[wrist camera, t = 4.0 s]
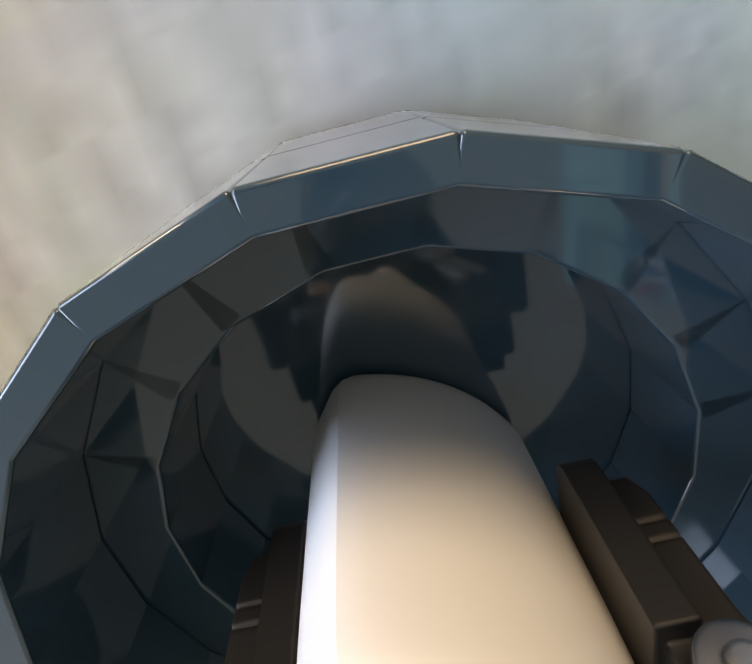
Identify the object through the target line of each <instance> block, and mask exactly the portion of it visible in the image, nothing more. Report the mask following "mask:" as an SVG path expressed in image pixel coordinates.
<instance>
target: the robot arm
mask: <svg viewBox="0 0 752 664" xmlns="http://www.w3.org/2000/svg"><path fill="white" fill-rule="evenodd" d="M556 476H557V487H558V498H559V509H560V515H561V517H562V519H563V521H564V523H565V525H566V527H567V529H568V531H569V533H570V535H571V537H572V539H573V541H574V543H575V545H576V547H577V549H578V550H579V552H580V554H581V556H582V558H583V560H584V562H585V564H586V566H587V568H588V570H589V572H590V574H591V576H592V578H593V580H594V582H595V584H596V586H597V588H598V590H599V592H600V594H601V596H602V598H603V600H604V602H605V604H606V606H607V608H608V610H609V612H610V614H611V616H612V618H613V620H614V622H615V624H616V626H617V628H618V630H619V632H620V634H621V636H622V638H623V640H624V642H625V644H626V647H627V649H628V651H629V653H630V655H631V657H632V659H633V661H634V663H635V664H752V623H751V622H749V621H748V620H747V619H746V618H745V617H744V616H743V615H742V614H741V613H740V611H739V610H738V609H737V608H736V607H735V605H734V604H733V603H732V601H731V600H730V599H729V597H728V596H727V595H726V594H725V592H724V591H723V590H722V588H721V587H720V586H719V584H718V583H717V582H716V580H715V579H714V578H713V576H712V575H711V574H710V572H709V571H708V570H707V568H706V567H705V566H704V565H703V563H702V562H701V561H700V559H699V558H698V557H697V555H696V554H695V553H694V551H693V550H692V549H691V547H690V546H689V545H688V543H687V542H686V541H685V540H684V538H683V537H682V538H681V536H680V534H679V532H678V530H677V529H676V528H675V526H674V525H673V524H672V522H671V521H670V520H669V519H667V518H666V514H665V513H664V512H663V511H662V509H661V508H660V507H659V505H658V504H657V503H656V501H655V500H654V499H653V497H652V496H651V495H650V493H648V492H647V491H645V490H644V489H642V488H641V487H640V486H638V485H637V484H635V483H634V482H632V481H631V480H629V479H628V478H626V477H623V478H618V479H614V480H608V478H607V477H606V475H605V474H604V472H603V471H602V469H601V468H600V467H599V465H598V464H597V462H596V461H595V460H594V459H593V458H587V459H583V460H578V461H574V462H569V463H565V464H560V465H557V467H556ZM306 531H307V520H304V521H299V522H295V523H290V524H286V525H281V526H277V527H275V528H274V530H273V534H272V540H271V546H270V552H269V554H267V555H263V556H258V557H255V558H254V559H253V561H252V563H251V565H250V566H249V568H248V570H247V572H246V573H245V575H244V577H243V578H242V580H241V584H240V589H239V594H238V599H237V604H236V607H237V610H235V613H234V618H233V623H232V632H231V633H230V637H229V642H228V647H227V652H226V657H225V662H224V664H297V652H298V635H299V621H300V608H301V595H302V582H303V570H304V557H305V544H306Z"/></svg>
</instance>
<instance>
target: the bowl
mask: <svg viewBox="0 0 752 664" xmlns="http://www.w3.org/2000/svg"><path fill="white" fill-rule="evenodd" d="M364 374H393V375H405V376H412V377H418V378H424V379H428V380H432V381H436V382H439V383H443V384H446V385H448V386H451V387H454V388H456V389H458V390H461V391H463V392H465V393H467V394H469V395H471V396H473V397H475V398H477V399H478V400H480V401H482V402H483V403H485V404H486V405H488V406H489V407H491V408H492V409H493V410H495V411H496V412H497V413H499V414H500V415H501V416H502V417H503V418H504V419H506V420H507V421H508V422H509V423H510V424H511V425H512V426H513V428H514V429H515V430H516V431H517V432H518V433H519V435H520V437H521V439H522V441H523V443H524V445H525V447H526V448H527V450H528V452H529V454H530V456H531V458H532V460H533V462H534V464H535V466H536V468H537V470H538V472H539V474H540V476H541V478H542V480H543V482H544V484H545V486H546V488H547V490H548V491H549V493H550V495H551V497H552V499H553V501H554V503H555V505H556V507H557V509H558V511H559V513H560V509H559V498H558V487H557V476H556V467H557V465H560V464H565V463H569V462H574V461H578V460H583V459H587V458H593V459H594V460H595V461H596V462H597V464H598V465H599V467H600V468H601V469H602V471H603V472H604V474H605V475H606V477H607V478H608V480H614V479H618V478H623V477H626V478H628V479H629V480H631V481H632V482H634V483H635V484H637V485H638V486H640V487H641V488H642V489H644V490H645V491H647V492H648V493H650V495H651V496H652V497H653V499H654V500H655V501H656V503H657V504H658V505H659V507H660V508H661V509H662V511H663V512H664V513H665V514H666V518H667V519H669V520H670V521H671V522H672V524H673V525H674V526H675V528H676V529H677V530H678V532H679V534H680V536H681V538H682V537H683V538H684V540H685V541H686V542H687V543H688V545H689V546H690V547H691V549H692V550H693V551H694V553H695V554H696V555H697V557H698V558H699V559H700V561H701V562H702V563H703V565H704V566H705V567H706V568H707V570H708V571H709V572H710V574H711V575H712V576H713V578H714V579H715V580H716V582H717V583H718V584H719V586H720V587H721V588H722V590H723V591H724V592H725V594H726V595H727V596H728V597H729V599H730V600H731V601H732V603H733V604H734V605H735V607H736V608H737V609H738V610H739V611H740V613H741V614H742V615H743V616H744V617H745V618H746V619H747V620H748V621H749V622H751V623H752V181H750V180H748V179H746V178H744V177H742V176H740V175H738V174H736V173H734V172H732V171H730V170H728V169H726V168H724V167H723V166H721V165H719V164H717V163H715V162H713V161H711V160H709V159H707V158H705V157H703V156H701V155H699V154H697V153H695V152H694V151H692V150H687V149H681V148H680V147H675V146H669V145H663V144H657V143H651V142H645V141H639V140H633V139H627V138H622V137H616V136H610V135H604V134H598V133H592V132H586V131H580V130H574V129H569V128H563V127H557V126H551V125H545V124H539V123H533V122H528V121H522V120H512V119H500V118H489V117H478V116H466V115H455V114H444V113H432V112H421V111H410V110H406V111H404V112H403V111H397V112H393V113H389V114H386V115H382V116H378V117H374V118H370V119H366V120H363V121H359V122H355V123H351V124H347V125H344V126H340V127H336V128H332V129H328V130H324V131H321V132H317V133H313V134H309V135H305V136H301V137H298V138H294V139H290V140H286V141H285V142H284V143H283V142H282V143H280V144H278V145H277V146H276V147H274V148H273V149H271V150H270V151H268V152H267V153H265V154H264V155H262V156H261V157H259V158H258V159H257V160H255V161H254V162H252V163H251V164H249V165H248V166H246V167H245V168H243V169H242V170H240V171H239V172H238V173H236V174H235V175H233V176H232V177H230V178H229V179H227V180H226V181H224V182H223V183H222V184H220V185H219V186H217V187H216V188H214V189H213V190H211V191H210V192H208V193H207V194H205V195H204V196H203V197H201V198H200V199H198V200H197V201H195V202H194V203H192V204H191V205H189V206H188V207H187V208H185V209H184V210H183V211H181V212H180V213H179V214H177V215H176V216H175V217H173V218H172V219H171V220H169V221H168V222H167V223H165V224H164V225H163V226H161V227H160V228H159V229H157V230H156V231H155V232H153V233H152V234H151V235H149V236H148V237H147V238H145V239H144V240H143V241H141V242H140V243H139V244H137V245H136V246H135V247H133V248H132V249H131V250H129V251H128V252H127V253H125V254H124V255H123V256H121V257H120V258H119V259H117V260H116V261H115V262H113V263H112V264H111V265H109V266H108V267H107V268H105V269H104V270H103V271H101V272H100V273H99V274H97V275H96V276H95V277H93V278H92V279H91V280H89V281H88V282H87V283H85V284H84V285H83V286H81V287H80V288H79V289H77V290H76V291H75V292H73V293H72V294H71V295H69V296H68V297H67V298H65V299H64V300H63V301H61V302H60V303H59V305H58V306H57V307H56V308H55V309H53V310H52V312H51V313H50V315H49V316H48V318H47V320H46V321H45V323H44V324H43V326H42V327H41V329H40V331H39V332H38V334H37V335H36V337H35V338H34V340H33V342H32V343H31V345H30V346H29V348H28V349H27V351H26V353H25V354H24V356H23V357H22V359H21V360H20V362H19V364H18V365H17V367H16V368H15V370H14V371H13V373H12V375H11V376H10V378H9V379H8V381H7V382H6V384H5V386H4V387H3V389H2V390H1V392H0V664H224V662H225V657H226V652H227V647H228V642H229V637H230V633H231V632H232V623H233V618H234V613H235V610H237V607H236V604H237V599H238V594H239V589H240V584H241V580H242V578H243V577H244V575H245V573H246V572H247V570H248V568H249V566H250V565H251V563H252V561H253V559H254V558H255V557H258V556H263V555H267V554H269V552H270V546H271V540H272V534H273V530H274V528H275V527H277V526H281V525H286V524H290V523H295V522H299V521H304V520H307V519H308V507H309V495H310V483H311V471H312V459H313V447H314V435H315V430H316V427H317V424H318V422H319V419H320V417H321V415H322V413H323V410H324V408H325V406H326V403H327V401H328V399H329V397H330V395H331V393H332V391H333V389H334V388H335V387H336V386H337V385H338V384H339V383H340V382H341V381H342V380H343V379H346V378H349V377H351V376H354V375H364Z"/></svg>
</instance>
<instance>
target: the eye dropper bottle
mask: <svg viewBox="0 0 752 664" xmlns="http://www.w3.org/2000/svg"><path fill="white" fill-rule="evenodd" d="M297 664H635V663H634V661H633V659H632V657H631V655H630V653H629V651H628V649H627V647H626V644H625V642H624V640H623V638H622V636H621V634H620V632H619V630H618V628H617V626H616V624H615V622H614V620H613V618H612V616H611V614H610V612H609V610H608V608H607V606H606V604H605V602H604V600H603V598H602V596H601V594H600V592H599V590H598V588H597V586H596V584H595V582H594V580H593V578H592V576H591V574H590V572H589V570H588V568H587V566H586V564H585V562H584V560H583V558H582V556H581V554H580V552H579V550H578V549H577V547H576V545H575V543H574V541H573V539H572V537H571V535H570V533H569V531H568V529H567V527H566V525H565V523H564V521H563V519H562V517H561V515H560V513H559V511H558V509H557V507H556V505H555V503H554V501H553V499H552V497H551V495H550V493H549V491H548V490H547V488H546V486H545V484H544V482H543V480H542V478H541V476H540V474H539V472H538V470H537V468H536V466H535V464H534V462H533V460H532V458H531V456H530V454H529V452H528V450H527V448H526V447H525V445H524V443H523V441H522V439H521V437H520V435H519V433H518V432H517V431H516V430H515V429H514V428H513V426H512V425H511V424H510V423H509V422H508V421H507V420H506V419H504V418H503V417H502V416H501V415H500V414H499V413H497V412H496V411H495V410H493V409H492V408H491V407H489V406H488V405H486V404H485V403H483V402H482V401H480V400H478V399H477V398H475V397H473V396H471V395H469V394H467V393H465V392H463V391H461V390H458V389H456V388H454V387H451V386H448V385H446V384H443V383H439V382H436V381H432V380H428V379H424V378H418V377H412V376H405V375H393V374H364V375H354V376H351V377H349V378H346V379H343V380H342V381H341V382H340V383H339V384H338V385H337V386H336V387H335V388H334V389H333V391H332V393H331V395H330V397H329V399H328V401H327V403H326V406H325V408H324V410H323V413H322V415H321V417H320V419H319V422H318V424H317V427H316V430H315V435H314V447H313V459H312V471H311V483H310V495H309V507H308V519H307V531H306V544H305V557H304V570H303V582H302V595H301V608H300V621H299V635H298V652H297Z"/></svg>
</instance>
